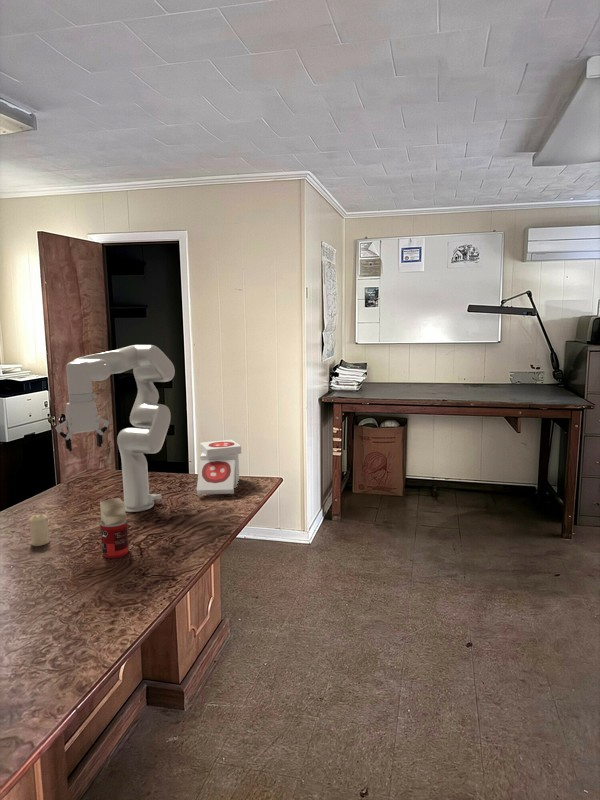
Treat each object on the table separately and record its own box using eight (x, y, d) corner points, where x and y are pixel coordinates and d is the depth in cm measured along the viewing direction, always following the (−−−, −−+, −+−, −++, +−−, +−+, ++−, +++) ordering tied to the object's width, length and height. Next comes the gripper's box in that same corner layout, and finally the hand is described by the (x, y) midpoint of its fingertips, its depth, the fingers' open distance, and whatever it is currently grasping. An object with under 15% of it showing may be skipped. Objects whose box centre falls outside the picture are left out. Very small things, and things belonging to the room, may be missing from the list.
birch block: (120, 515, 185) (119, 497, 184) (126, 521, 180) (124, 502, 179) (101, 519, 182) (99, 501, 181) (106, 525, 177) (105, 506, 176)
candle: (53, 540, 194) (50, 512, 192) (41, 546, 189) (38, 517, 187) (40, 538, 196) (37, 510, 194) (27, 545, 191) (25, 516, 189)
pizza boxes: (192, 499, 234) (190, 456, 231) (203, 478, 264) (201, 440, 261) (239, 498, 234) (237, 455, 232) (244, 477, 264) (243, 439, 261)
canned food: (105, 549, 186) (103, 516, 184) (131, 548, 186) (128, 515, 185) (99, 559, 178) (97, 525, 177) (126, 558, 179) (123, 524, 177)
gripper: (104, 394, 200) (107, 442, 203) (50, 399, 191) (55, 450, 193) (110, 397, 194) (113, 446, 196) (55, 402, 184) (60, 454, 187)
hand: (84, 448), depth 195 cm, fingers open, 9 cm apart
